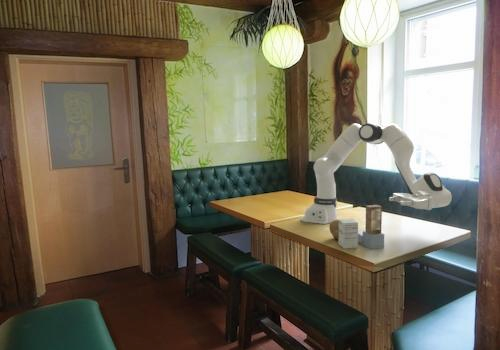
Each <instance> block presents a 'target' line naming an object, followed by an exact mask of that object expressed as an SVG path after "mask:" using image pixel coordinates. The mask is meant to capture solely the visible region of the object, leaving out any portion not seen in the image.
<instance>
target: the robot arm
mask: <svg viewBox="0 0 500 350" xmlns="http://www.w3.org/2000/svg"><path fill="white" fill-rule="evenodd" d="M361 142H365V143H367V144H370V145H380V144H383V143H385V144H386V146H387V148H388V149H389V150H390V151H391V153H392V155H393V158H394V164H395V166H396V169H397V170H398V173H399V174H400V176H401V178H402V180H403V182H404V183H405V185H406V188H407V191H408V193H405V192H394V193H392V196H389V197H388V201H389V202H397V203H400V204H399V205H401V206H407V207H412V208H413V209H416V210H427V211H430V210H431V211H432V209H435V208H442V207H446V206H448V205H450V204H451V202H452V198H453V194H452V193H451V191H450V190H448V189H447V188H446V187H445V186H444V185H443V183H442V180H441V178H440V176H439V175H438V174H437V173H435V172H432V171H426V172H424V173H423V174H422V175H421V176H419V177H418V178H416V176H415V173H414V172H413V170H412V167H411V165H410V163H411V159H412V155H413V153H414V148H415V146H414V143H413V141H412V140H411V138H410V137H409V136H408V134H407V133H406V132H405V131H404V129H402V128H401V127H400V126H399V125H397V124H396V123H390V124H387V125H385V126H381V124H377V123H373V122H366V123H364V124H362V125H360V124H359V123H352V124H351V125H349V126H347V128H346V129H345V130H344V131H342V133H341V134H340V135H339V136H338V138H337V139H336V140H335V141H334V142H333V144H331V146H330V148H329V149H328V151H327V152H326V153H325V155H324V156H322V157H319V158H318V159H316V161H315V162H314V163H313V171H314V175H315V178H316V188H317V189H316V193H317V195H316V196H315V197H314V198H313V203H312V204H311V205H309V206H308V207H307V208H306V209H305V211H304V215H302V216H301V217H300V221H301V222H305V223H314V224H320V225H321V224H323V225H326V224H330V223H331V222H332V221H334V220H339V217H338V213H337V212H338V211H337V205H338V199H337V196H336V195H337V184H336V180H335V175H334V173H335V172H336V171H337V170H338V169H339V168H340V166H341V165H342V164H343V163H344V161H345V160H346V159H347V157H348V156H349V155H351V153H352V151H354V150H355V148H356V147H357V146H358V145H359V144H360V143H361Z"/></svg>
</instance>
